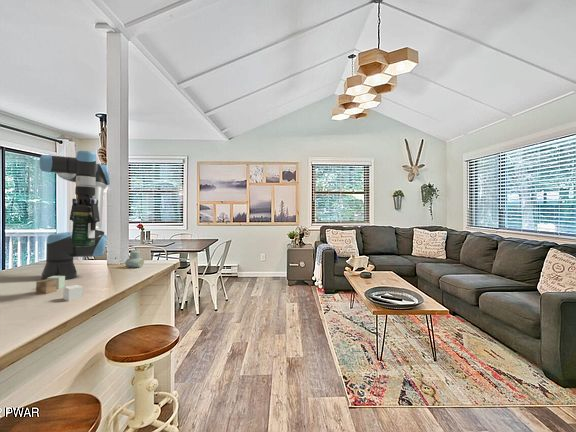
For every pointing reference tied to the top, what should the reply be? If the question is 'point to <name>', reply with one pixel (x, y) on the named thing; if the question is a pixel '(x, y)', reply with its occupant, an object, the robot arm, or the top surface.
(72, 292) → the off-white block
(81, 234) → the coffee jar
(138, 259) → the air freshener
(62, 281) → the sage block
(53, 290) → the walnut block
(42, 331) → the top surface
